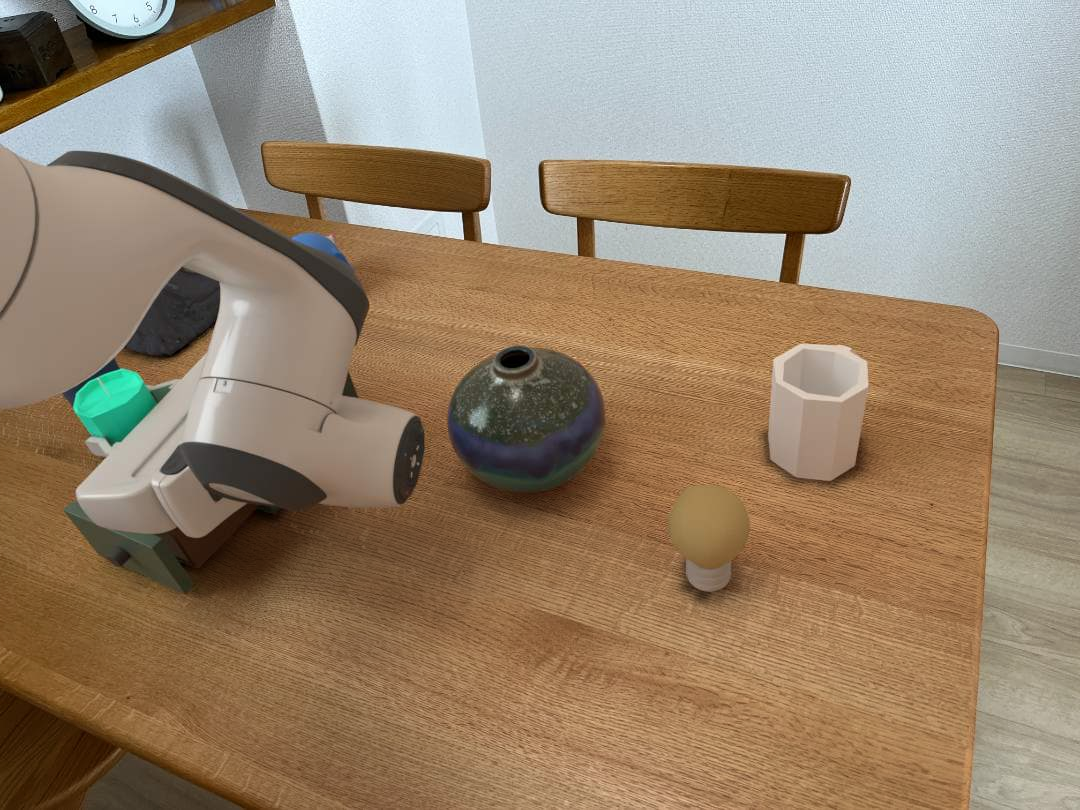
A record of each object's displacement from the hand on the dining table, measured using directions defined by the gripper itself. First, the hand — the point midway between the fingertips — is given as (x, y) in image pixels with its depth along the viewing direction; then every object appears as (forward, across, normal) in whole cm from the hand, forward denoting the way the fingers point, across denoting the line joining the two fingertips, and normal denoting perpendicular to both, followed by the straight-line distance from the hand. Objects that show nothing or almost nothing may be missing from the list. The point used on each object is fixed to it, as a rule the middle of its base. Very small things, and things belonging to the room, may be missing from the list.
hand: (116, 418), depth 72 cm
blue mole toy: (+9, -44, +15) cm, 47 cm away
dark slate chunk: (+28, -35, +15) cm, 47 cm away
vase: (-32, -16, +16) cm, 39 cm away
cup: (+16, -10, +15) cm, 24 cm away
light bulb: (-51, -5, +16) cm, 54 cm away
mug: (-59, -24, +16) cm, 66 cm away
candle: (-1, 0, +7) cm, 7 cm away
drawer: (-1, 0, +14) cm, 14 cm away
